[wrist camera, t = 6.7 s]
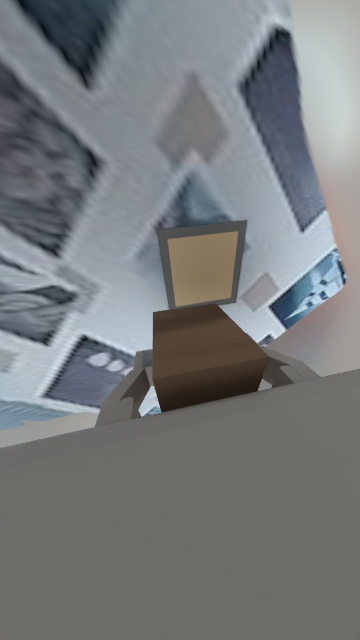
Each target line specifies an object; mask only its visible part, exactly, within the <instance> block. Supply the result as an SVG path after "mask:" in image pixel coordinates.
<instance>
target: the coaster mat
mask: <svg viewBox="0 0 360 640" xmlns="http://www.w3.org/2000/svg"><path fill="white" fill-rule="evenodd" d="M246 226H247V220H245V221H236V222H226V223H217V224H207V225H198V226H188V227H179V228H169V229H160V230H157V232H158V238H159V245H160V251H161V258H162V265H163V271H164V278H165V284H166V291H167V298H168V304H169V310H172V309H179V308H186V307H193V306H200V305H207V304H214V303H216V304H217V305H224V304H230V303H236V298H237V291H238V284H239V277H240V269H241V262H242V255H243V248H244V241H245V233H246Z"/></svg>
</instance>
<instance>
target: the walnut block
mask: <svg viewBox="0 0 360 640" xmlns="http://www.w3.org/2000/svg"><path fill="white" fill-rule="evenodd" d="M268 359H269V356H268V355H267V354H266V353H265V352H264V351H263V350H262V349H261V348H260V347H259V346H258V345H257V344H256V343H255V342H254V341H253V340H252V339H251V338H250V337H249V336H248V335H247V334H246V333H245V332H244V331H243V330H242V329H241V328H240V327H239V326H238V325H237V324H236V323H235V322H234V321H233V320H232V319H231V318H230V317H229V316H228V315H227V314H226V313H225V312H224V311H223V310H222V309H221V308H220V307H219V306H218V305H217V304H216V303H214V304H207V305H200V306H193V307H186V308H179V309H172V310H165V311H158V312H153V365H152V380H153V383H154V387H155V391H156V394H157V398H158V401H159V405H160V408H161V412H166V411H171V410H175V409H180V408H184V407H189V406H193V405H198V404H202V403H207V402H212V401H216V400H221V399H225V398H230V397H234V396H239V395H243V394H248V393H252V392H257V391H258V388H259V385H260V382H261V379H262V376H263V374H264V371H265V368H266V365H267V362H268Z"/></svg>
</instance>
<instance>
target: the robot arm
mask: <svg viewBox="0 0 360 640" xmlns="http://www.w3.org/2000/svg"><path fill="white" fill-rule="evenodd" d="M246 334H247V333H246ZM247 335H248V334H247ZM248 336H249V335H248ZM249 337H250V336H249ZM250 338H251V337H250ZM251 339H252V338H251ZM252 340H253V339H252ZM253 341H254V340H253ZM254 342H255V341H254ZM255 343H256V342H255ZM256 344H257V343H256ZM257 345H258V344H257ZM258 346H259V345H258ZM259 347H260V348H261V349H262V350H263V351H264V352H265V353H266V354H267V355H268V356H269V359H268V362H267V365H266V368H265V371H264V374H263V376H262V379H264V380H265V381H267V382H268V383H270V384H272V388H271V389H266V390H261V391H257V392H252V393H248V394H243V395H239V396H234V397H230V398H225V399H221V400H216V401H212V402H207V403H202V404H198V405H193V406H189V407H184V408H180V409H175V410H171V411H166V412H162V413H157V414H153V415H148V416H143V417H141V415H140V413H139V410H138V409H139V407H140V405H141V403H142V402H143V400H144V398H145V396H146V394H147V392H148V391H149V389H150V386H154V383H153V380H152V365H153V349H150V350H144V351H137V352H136V356H135V362H134V368H133V370H131V371H130V372H129V373H128V374H127V375H126V377H125V378H124V379H123V380H122V381H121V382H120V383H119V384H118V386H117V387H116V388H115V389H114V390H113V391H112V392H111V393H110V395H109V396H108V397H107V398H106V399H105V400H104V401H103V403H102V406H101V409H100V413H99V416H98V419H97V422H96V425H95V427H94V428H89V429H84V430H80V431H75V432H71V433H66V434H62V435H57V436H53V437H48V438H44V439H39V440H34V441H30V442H26V443H21V444H16V445H12V446H7V447H3V448H0V640H360V369H357V370H352V371H348V372H343V373H338V374H334V375H329V376H325V377H320V376H319V375H318V374H316V373H315V372H314V371H313V370H312V369H310V368H309V367H308V366H307V365H305V364H304V363H303V362H301V361H299V360H296V359H294V358H291V357H289V356H286V355H284V354H281V353H279V352H276V351H274V350H271V349H268V348H266V347H263V346H259Z"/></svg>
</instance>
